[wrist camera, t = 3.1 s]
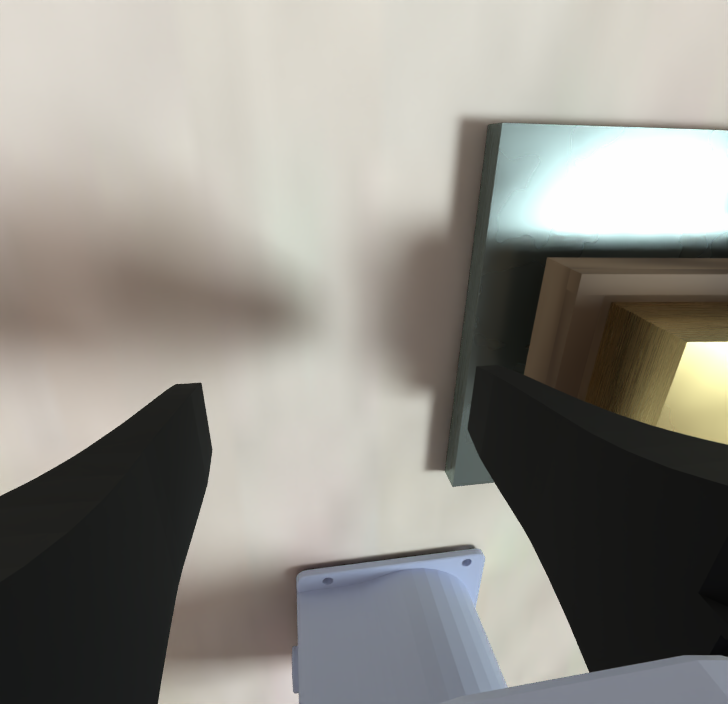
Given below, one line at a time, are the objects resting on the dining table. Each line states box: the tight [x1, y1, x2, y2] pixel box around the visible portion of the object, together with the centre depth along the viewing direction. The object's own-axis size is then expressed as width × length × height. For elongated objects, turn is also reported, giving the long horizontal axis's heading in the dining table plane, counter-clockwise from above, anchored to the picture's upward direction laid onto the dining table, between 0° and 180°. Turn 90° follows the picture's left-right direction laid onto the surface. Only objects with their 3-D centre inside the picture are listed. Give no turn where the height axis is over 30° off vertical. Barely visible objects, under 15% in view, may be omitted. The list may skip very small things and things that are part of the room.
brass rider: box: [585, 302, 728, 444], centre depth 12 cm, size 6×4×3 cm
